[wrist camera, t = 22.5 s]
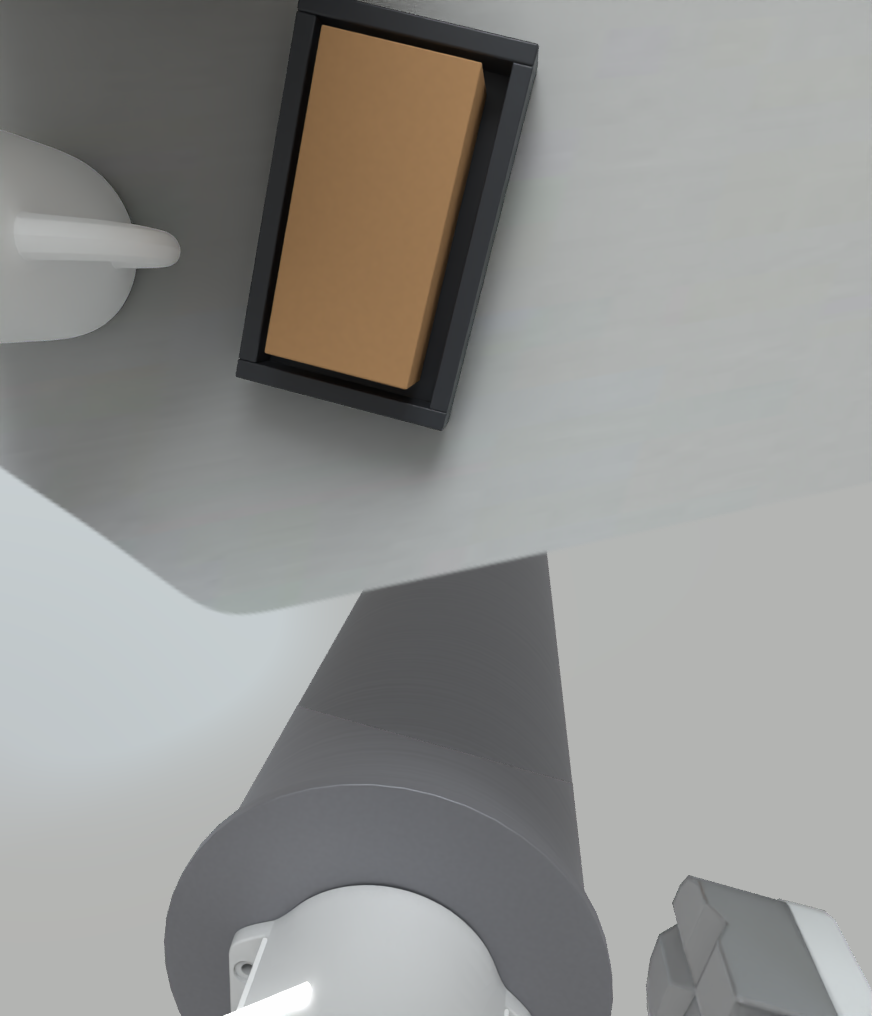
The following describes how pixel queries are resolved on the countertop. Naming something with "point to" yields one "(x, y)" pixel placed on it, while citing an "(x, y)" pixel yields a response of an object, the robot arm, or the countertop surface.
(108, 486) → the countertop surface
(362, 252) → the pad
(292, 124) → the pad base
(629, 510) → the countertop surface
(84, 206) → the mug
